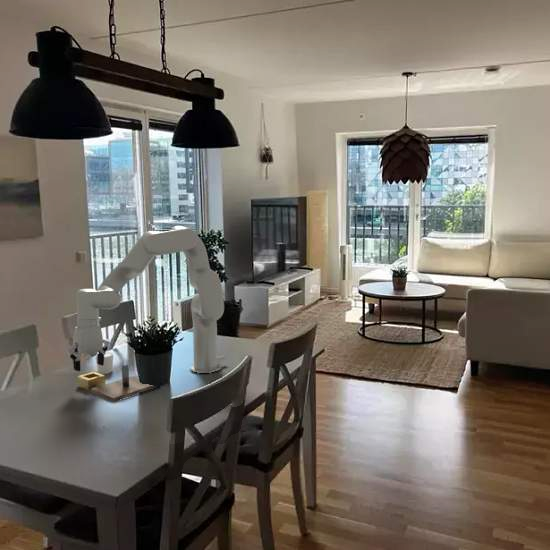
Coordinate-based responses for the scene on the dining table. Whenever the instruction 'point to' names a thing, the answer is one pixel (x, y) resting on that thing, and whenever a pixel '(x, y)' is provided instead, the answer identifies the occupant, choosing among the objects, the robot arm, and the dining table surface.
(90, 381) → the brass link
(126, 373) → the post
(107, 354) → the white tapered cup
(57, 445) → the dining table surface
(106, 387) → the keeper board
